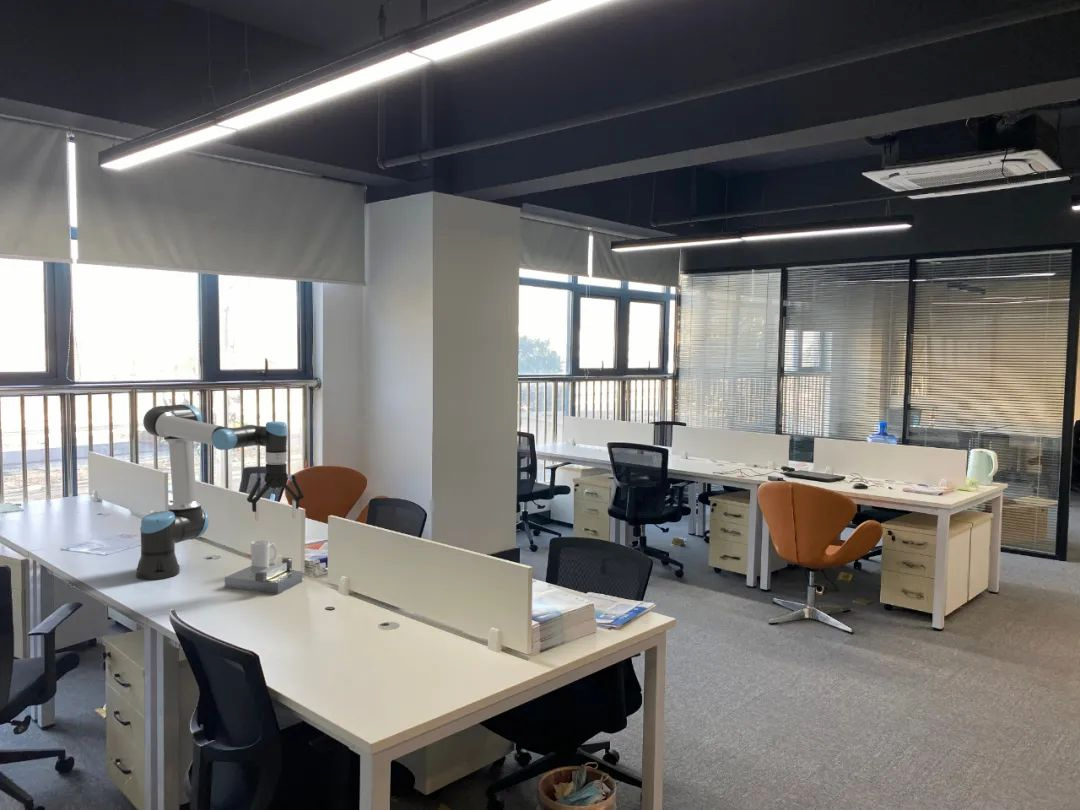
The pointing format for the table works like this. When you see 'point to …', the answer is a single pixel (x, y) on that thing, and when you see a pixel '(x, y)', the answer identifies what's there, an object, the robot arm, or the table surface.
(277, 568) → the cable arm
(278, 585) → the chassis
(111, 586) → the table surface
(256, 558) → the mug
